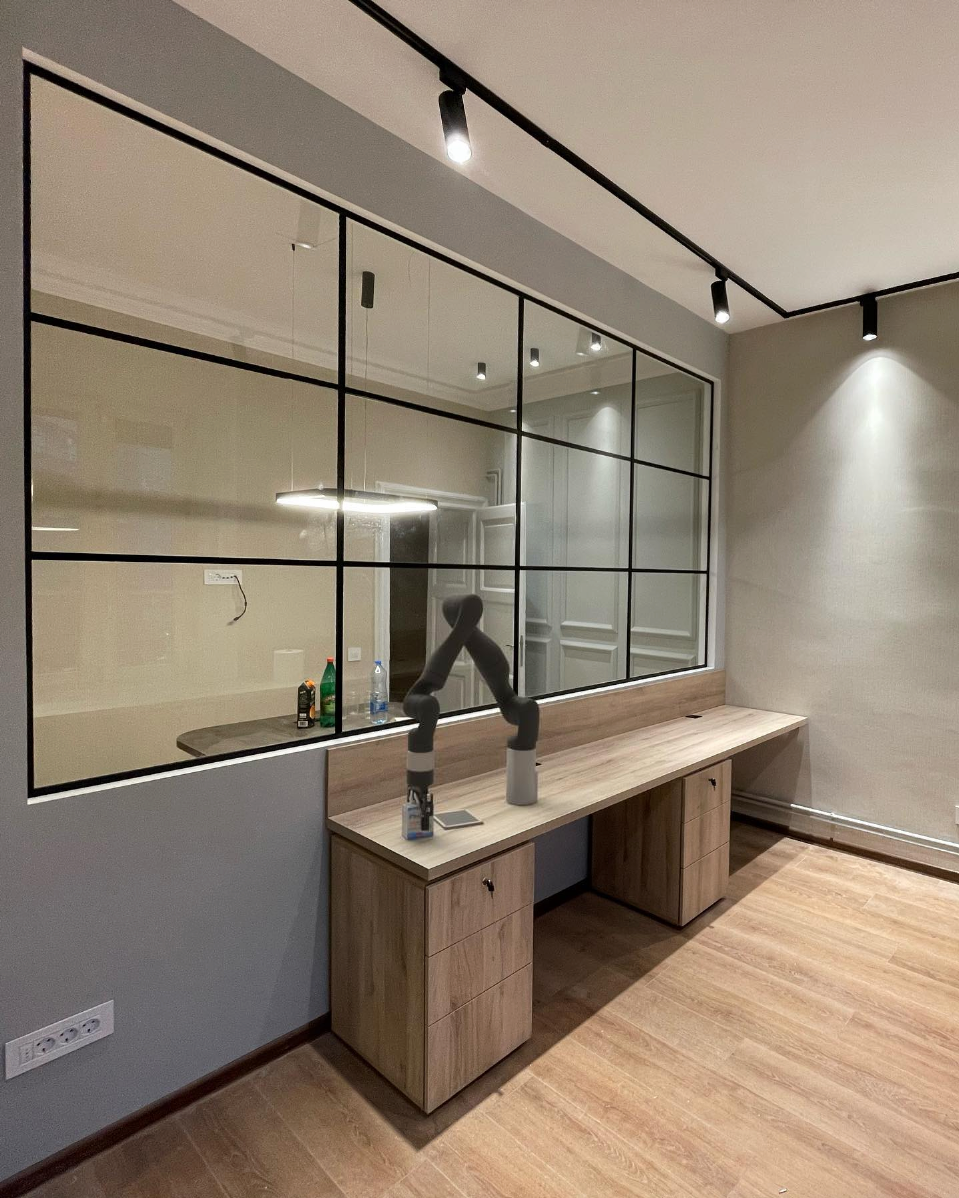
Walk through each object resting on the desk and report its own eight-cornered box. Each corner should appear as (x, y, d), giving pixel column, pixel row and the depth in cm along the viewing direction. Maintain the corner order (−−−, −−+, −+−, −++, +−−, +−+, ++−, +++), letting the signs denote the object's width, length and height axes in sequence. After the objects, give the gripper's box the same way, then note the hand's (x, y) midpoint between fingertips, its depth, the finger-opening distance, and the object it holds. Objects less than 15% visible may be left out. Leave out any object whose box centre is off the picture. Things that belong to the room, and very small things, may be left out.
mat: (466, 810, 208) (466, 808, 208) (483, 823, 197) (483, 821, 197) (429, 816, 203) (429, 813, 203) (444, 829, 192) (445, 827, 192)
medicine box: (406, 840, 184) (407, 808, 184) (401, 834, 188) (401, 803, 188) (433, 836, 187) (434, 804, 187) (428, 830, 191) (428, 799, 191)
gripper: (442, 771, 182) (441, 831, 183) (423, 758, 195) (422, 815, 196) (416, 774, 179) (415, 835, 180) (398, 761, 192) (398, 818, 192)
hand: (419, 825), depth 188 cm, fingers open, 8 cm apart
